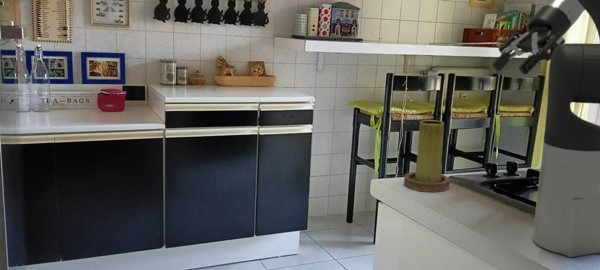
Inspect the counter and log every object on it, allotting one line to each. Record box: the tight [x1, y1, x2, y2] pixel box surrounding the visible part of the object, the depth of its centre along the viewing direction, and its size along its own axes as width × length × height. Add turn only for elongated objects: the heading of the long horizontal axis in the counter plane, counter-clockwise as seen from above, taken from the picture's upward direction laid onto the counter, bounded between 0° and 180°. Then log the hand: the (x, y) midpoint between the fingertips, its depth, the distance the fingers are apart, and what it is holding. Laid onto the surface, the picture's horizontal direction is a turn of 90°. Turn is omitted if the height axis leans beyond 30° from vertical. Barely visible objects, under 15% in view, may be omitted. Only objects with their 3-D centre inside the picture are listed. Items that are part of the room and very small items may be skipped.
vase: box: [414, 119, 445, 183], centre depth 113 cm, size 6×6×14 cm
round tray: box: [403, 171, 451, 193], centre depth 115 cm, size 10×10×2 cm
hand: (508, 69), depth 109 cm, fingers open, 8 cm apart
